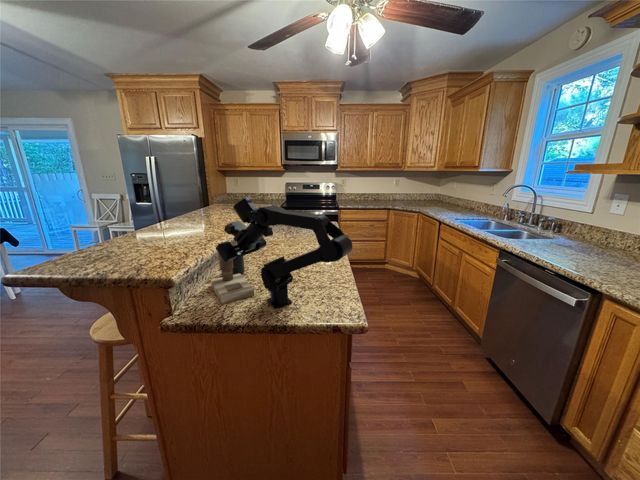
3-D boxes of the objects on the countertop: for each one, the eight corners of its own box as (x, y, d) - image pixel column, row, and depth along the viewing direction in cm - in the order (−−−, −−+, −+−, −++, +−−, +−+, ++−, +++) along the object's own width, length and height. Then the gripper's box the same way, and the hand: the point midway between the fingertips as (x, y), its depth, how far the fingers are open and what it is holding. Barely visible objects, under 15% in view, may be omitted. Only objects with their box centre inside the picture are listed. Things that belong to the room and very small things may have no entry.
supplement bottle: (247, 273, 107) (246, 246, 104) (233, 277, 102) (230, 249, 99) (239, 268, 111) (237, 242, 108) (225, 272, 107) (222, 246, 103)
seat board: (254, 295, 88) (253, 288, 87) (222, 304, 82) (221, 297, 82) (240, 279, 101) (239, 273, 100) (211, 285, 95) (210, 279, 94)
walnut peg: (236, 280, 94) (233, 249, 91) (222, 283, 92) (219, 252, 88) (232, 275, 98) (229, 246, 95) (219, 278, 95) (216, 248, 92)
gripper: (259, 210, 91) (239, 235, 100) (216, 219, 76) (197, 247, 84) (276, 234, 90) (255, 257, 98) (237, 248, 74) (215, 274, 82)
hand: (232, 258), depth 91 cm, fingers open, 9 cm apart
